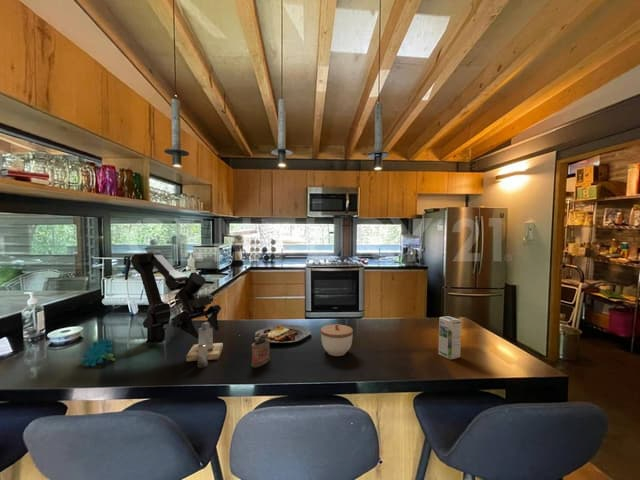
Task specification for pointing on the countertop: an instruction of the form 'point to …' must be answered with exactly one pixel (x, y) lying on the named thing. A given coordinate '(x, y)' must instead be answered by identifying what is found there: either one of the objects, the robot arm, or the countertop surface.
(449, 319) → the syrup box
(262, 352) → the lighter
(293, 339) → the food plate
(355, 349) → the countertop surface
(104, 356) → the teal lumpy clump
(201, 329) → the square bit
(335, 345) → the lidded bowl
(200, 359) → the round peg
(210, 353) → the socket block
